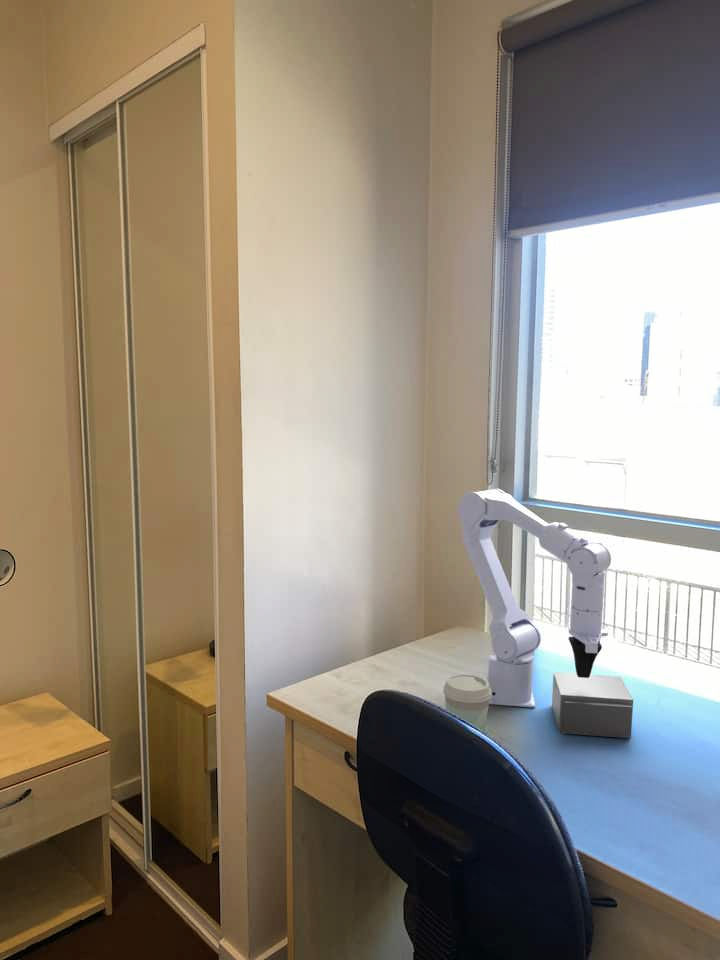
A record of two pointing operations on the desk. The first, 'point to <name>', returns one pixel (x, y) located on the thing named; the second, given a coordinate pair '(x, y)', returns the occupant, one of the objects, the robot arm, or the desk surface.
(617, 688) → the player housing
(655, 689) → the desk surface
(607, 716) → the tray
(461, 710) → the coffee cup
